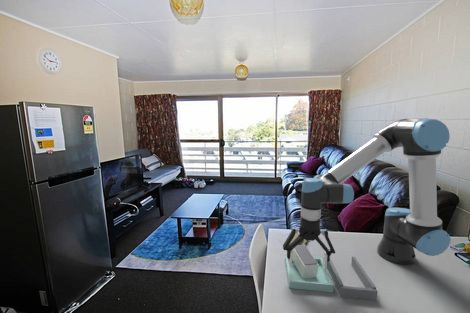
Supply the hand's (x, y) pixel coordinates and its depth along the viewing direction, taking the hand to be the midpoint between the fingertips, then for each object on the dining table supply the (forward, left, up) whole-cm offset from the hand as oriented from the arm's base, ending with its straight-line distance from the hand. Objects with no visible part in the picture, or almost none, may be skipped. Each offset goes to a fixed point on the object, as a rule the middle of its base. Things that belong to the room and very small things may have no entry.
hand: (307, 267), depth 98 cm
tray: (0, 0, -4) cm, 4 cm away
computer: (0, -26, -4) cm, 27 cm away
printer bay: (-16, 0, -4) cm, 16 cm away
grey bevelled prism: (+1, -3, -2) cm, 3 cm away
